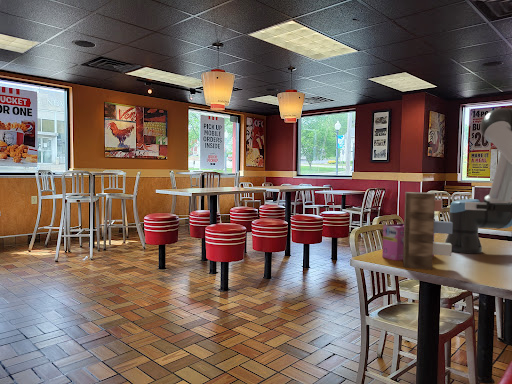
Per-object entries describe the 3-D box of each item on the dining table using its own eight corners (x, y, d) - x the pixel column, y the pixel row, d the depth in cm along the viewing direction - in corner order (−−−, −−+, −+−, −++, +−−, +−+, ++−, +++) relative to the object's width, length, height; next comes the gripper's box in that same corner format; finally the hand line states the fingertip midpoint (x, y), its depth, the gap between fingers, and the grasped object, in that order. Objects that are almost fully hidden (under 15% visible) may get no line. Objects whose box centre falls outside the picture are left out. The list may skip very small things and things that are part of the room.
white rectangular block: (449, 253, 142) (450, 243, 142) (451, 255, 138) (451, 244, 138) (423, 251, 145) (423, 241, 145) (424, 253, 141) (424, 243, 141)
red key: (440, 210, 142) (440, 199, 142) (441, 211, 139) (441, 200, 138) (414, 209, 145) (414, 198, 145) (414, 210, 142) (415, 199, 141)
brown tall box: (429, 263, 147) (432, 192, 146) (431, 269, 138) (435, 193, 136) (402, 261, 150) (405, 191, 149) (403, 267, 141) (406, 193, 139)
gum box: (420, 252, 169) (421, 221, 169) (436, 255, 162) (437, 224, 162) (381, 257, 158) (382, 224, 157) (396, 261, 151) (398, 227, 150)
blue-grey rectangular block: (450, 232, 141) (451, 221, 141) (452, 234, 138) (452, 222, 138) (424, 230, 144) (424, 220, 144) (425, 232, 141) (425, 221, 140)
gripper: (550, 221, 124) (468, 217, 132) (536, 217, 136) (462, 214, 144) (551, 198, 123) (469, 196, 132) (537, 196, 136) (462, 194, 144)
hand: (465, 205), depth 138 cm, fingers closed
